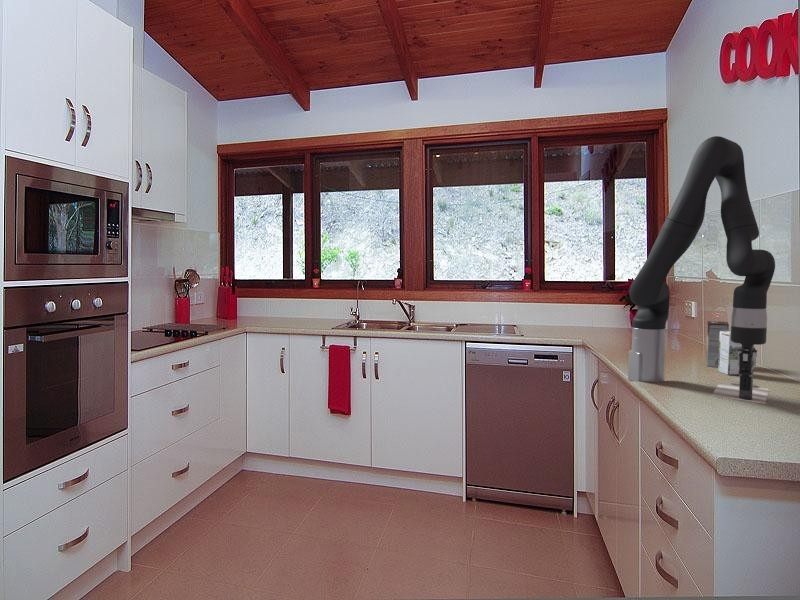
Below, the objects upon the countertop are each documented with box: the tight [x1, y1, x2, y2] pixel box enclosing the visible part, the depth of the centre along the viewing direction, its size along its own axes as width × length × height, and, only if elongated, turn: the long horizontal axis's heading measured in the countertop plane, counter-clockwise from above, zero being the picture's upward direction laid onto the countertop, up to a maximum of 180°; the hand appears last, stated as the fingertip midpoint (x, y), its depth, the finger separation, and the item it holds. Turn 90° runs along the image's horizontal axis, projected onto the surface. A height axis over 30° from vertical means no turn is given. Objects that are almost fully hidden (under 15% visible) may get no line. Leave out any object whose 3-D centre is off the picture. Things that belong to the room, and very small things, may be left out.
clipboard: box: [711, 381, 770, 404], centre depth 127 cm, size 22×14×2 cm, turn 139°
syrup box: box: [717, 330, 742, 376], centre depth 154 cm, size 6×6×14 cm
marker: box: [739, 356, 754, 400], centre depth 120 cm, size 3×3×12 cm
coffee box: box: [705, 320, 730, 368], centre depth 168 cm, size 9×6×16 cm
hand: (746, 387), depth 120 cm, fingers open, 5 cm apart
